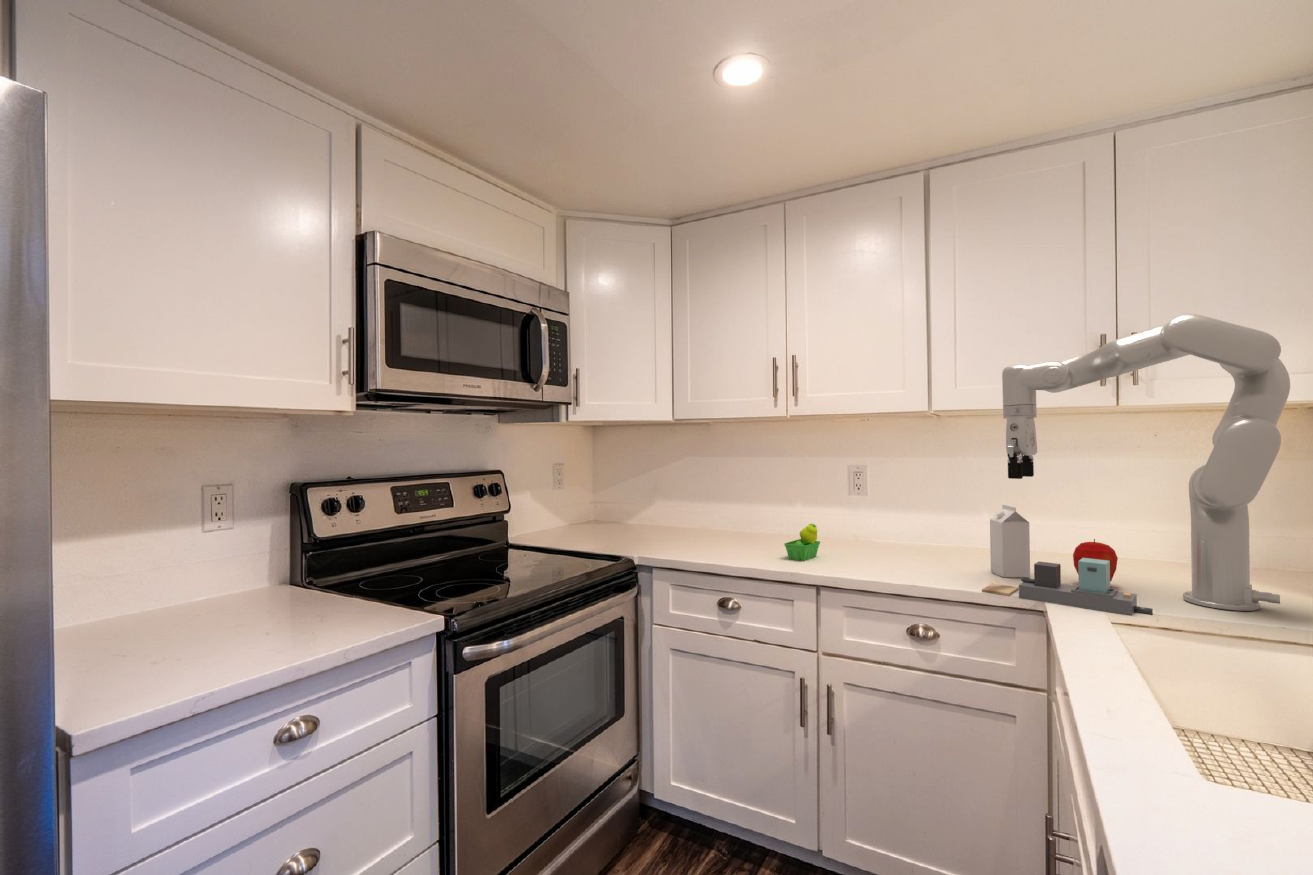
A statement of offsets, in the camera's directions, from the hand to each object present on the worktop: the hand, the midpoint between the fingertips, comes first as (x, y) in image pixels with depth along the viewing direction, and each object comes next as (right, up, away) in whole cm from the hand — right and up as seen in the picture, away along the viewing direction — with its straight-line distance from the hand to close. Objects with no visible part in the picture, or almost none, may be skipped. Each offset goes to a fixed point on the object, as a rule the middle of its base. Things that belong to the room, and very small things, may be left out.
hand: (1021, 477), depth 155 cm
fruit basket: (-49, -28, +34) cm, 66 cm away
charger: (+3, -24, -22) cm, 33 cm away
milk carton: (+1, -28, +7) cm, 29 cm away
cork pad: (-11, -28, -9) cm, 31 cm away
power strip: (+1, -27, -21) cm, 34 cm away
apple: (+16, -27, -5) cm, 32 cm away
